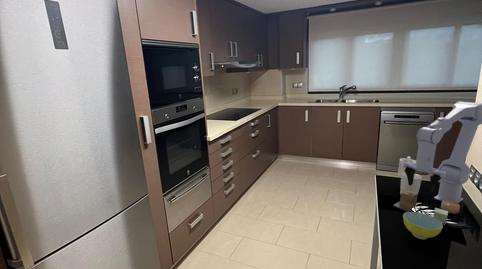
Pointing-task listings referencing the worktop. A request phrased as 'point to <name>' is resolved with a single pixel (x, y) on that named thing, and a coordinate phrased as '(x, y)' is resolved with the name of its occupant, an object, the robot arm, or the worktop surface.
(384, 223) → the worktop surface
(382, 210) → the worktop surface
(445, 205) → the brown rounded disc
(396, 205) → the plate
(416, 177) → the white cup
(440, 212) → the sage cube
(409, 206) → the walnut block
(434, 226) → the bowl
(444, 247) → the worktop surface
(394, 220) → the worktop surface
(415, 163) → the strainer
